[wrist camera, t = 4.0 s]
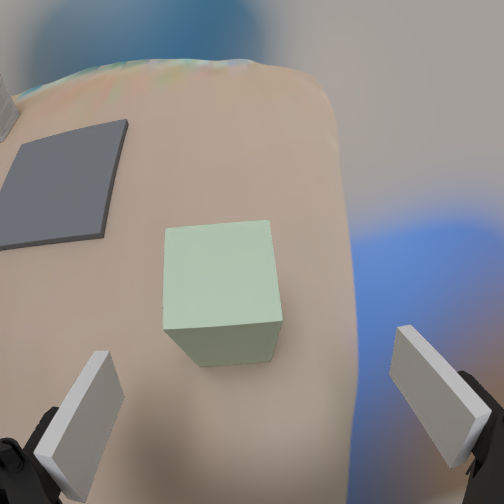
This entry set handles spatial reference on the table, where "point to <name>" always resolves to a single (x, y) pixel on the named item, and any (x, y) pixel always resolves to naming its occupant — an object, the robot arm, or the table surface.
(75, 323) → the table surface
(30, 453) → the robot arm
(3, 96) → the light bulb box
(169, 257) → the sage block
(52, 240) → the mat
